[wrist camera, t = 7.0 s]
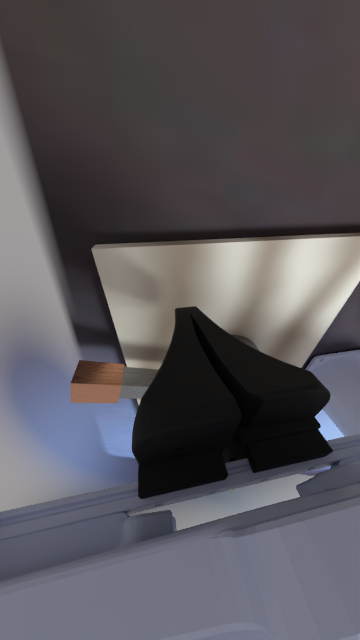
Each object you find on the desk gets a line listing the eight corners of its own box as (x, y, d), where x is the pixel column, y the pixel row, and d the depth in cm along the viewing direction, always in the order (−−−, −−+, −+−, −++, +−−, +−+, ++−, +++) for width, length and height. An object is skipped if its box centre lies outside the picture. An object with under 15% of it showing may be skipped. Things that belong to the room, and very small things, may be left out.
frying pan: (80, 334, 11) (70, 356, 9) (274, 359, 16) (287, 375, 14) (78, 396, 14) (71, 419, 13) (236, 400, 19) (244, 416, 18)
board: (375, 232, 13) (417, 239, 11) (276, 391, 26) (287, 408, 24) (95, 244, 10) (83, 257, 8) (143, 414, 24) (143, 435, 22)
